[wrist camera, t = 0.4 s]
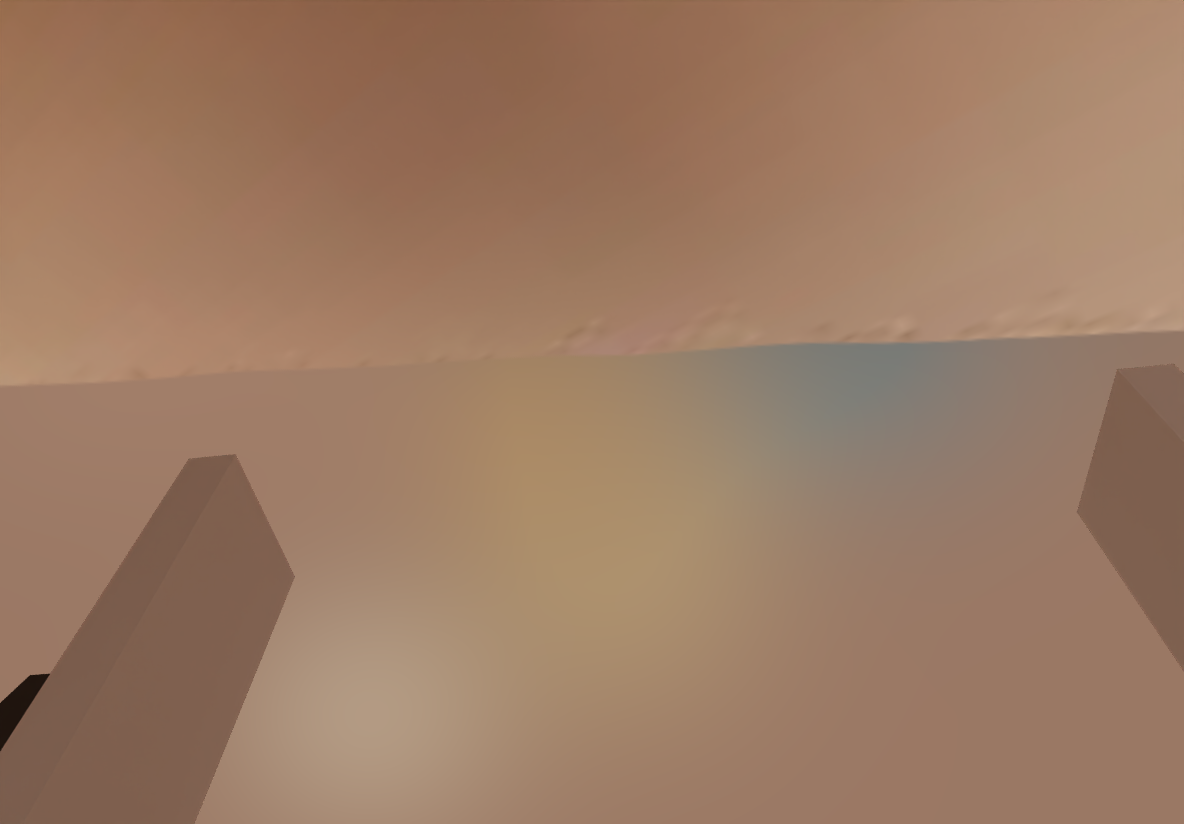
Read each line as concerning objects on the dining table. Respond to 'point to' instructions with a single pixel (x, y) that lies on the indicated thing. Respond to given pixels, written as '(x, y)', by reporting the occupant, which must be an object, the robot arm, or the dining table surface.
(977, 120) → the dining table surface
